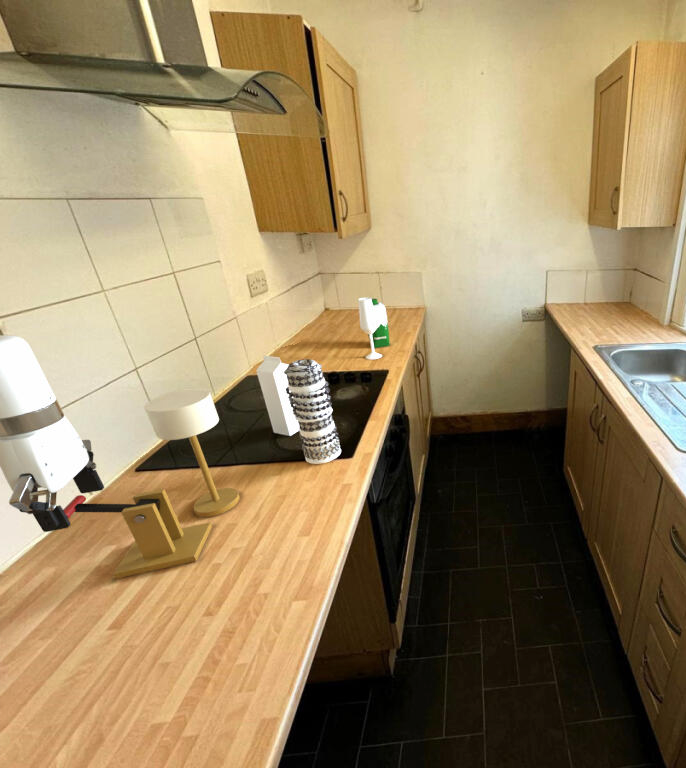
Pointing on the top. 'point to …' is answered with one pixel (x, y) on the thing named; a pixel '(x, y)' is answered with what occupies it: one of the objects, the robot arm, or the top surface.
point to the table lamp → (191, 438)
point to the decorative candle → (312, 411)
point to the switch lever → (102, 506)
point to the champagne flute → (368, 323)
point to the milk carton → (380, 326)
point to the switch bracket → (159, 537)
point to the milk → (277, 395)
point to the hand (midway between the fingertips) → (76, 508)
